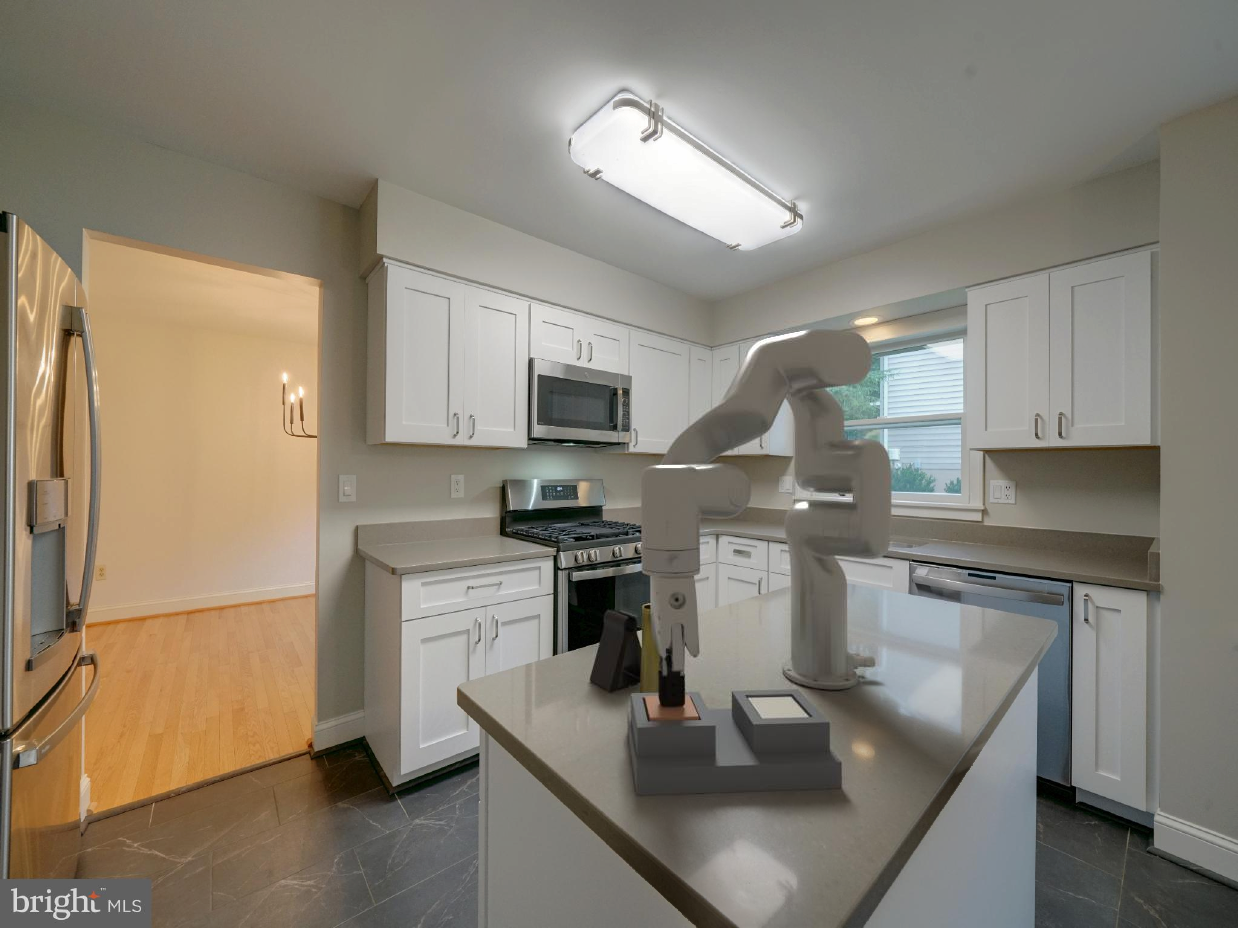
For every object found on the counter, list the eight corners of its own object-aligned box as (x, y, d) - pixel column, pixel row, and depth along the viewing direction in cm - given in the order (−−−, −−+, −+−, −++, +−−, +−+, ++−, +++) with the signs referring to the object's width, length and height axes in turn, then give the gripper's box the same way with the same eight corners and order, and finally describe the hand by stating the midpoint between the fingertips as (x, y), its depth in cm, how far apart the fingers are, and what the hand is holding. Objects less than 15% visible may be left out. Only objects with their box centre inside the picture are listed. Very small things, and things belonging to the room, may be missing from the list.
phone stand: (609, 693, 85) (609, 621, 85) (589, 681, 90) (589, 613, 90) (650, 680, 90) (650, 612, 90) (629, 669, 95) (629, 605, 95)
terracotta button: (689, 717, 68) (689, 694, 69) (698, 740, 62) (698, 716, 63) (644, 718, 68) (644, 695, 68) (650, 742, 62) (650, 717, 62)
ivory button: (791, 718, 69) (790, 696, 69) (810, 742, 63) (810, 717, 63) (747, 720, 69) (747, 697, 69) (762, 743, 63) (762, 719, 63)
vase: (665, 703, 81) (665, 613, 81) (632, 694, 84) (632, 608, 85) (682, 689, 86) (681, 605, 86) (650, 681, 89) (650, 600, 90)
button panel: (793, 727, 73) (793, 682, 73) (841, 787, 59) (841, 731, 59) (627, 732, 72) (627, 686, 72) (636, 795, 58) (636, 737, 58)
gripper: (713, 571, 58) (714, 732, 58) (688, 550, 73) (689, 678, 73) (648, 572, 58) (649, 734, 58) (636, 551, 73) (637, 680, 73)
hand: (671, 702), depth 66 cm, fingers closed
